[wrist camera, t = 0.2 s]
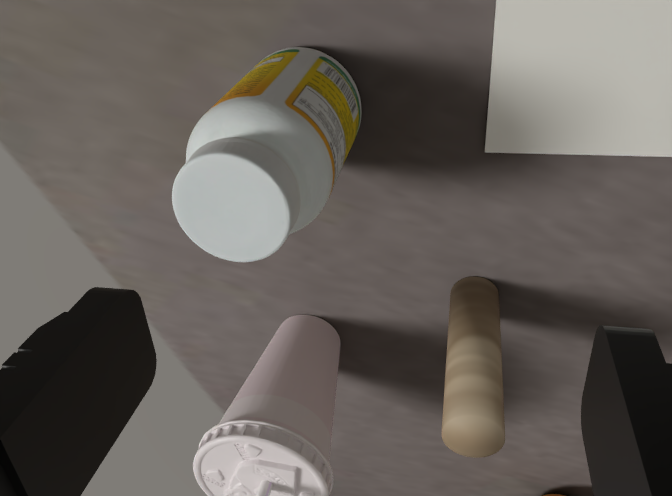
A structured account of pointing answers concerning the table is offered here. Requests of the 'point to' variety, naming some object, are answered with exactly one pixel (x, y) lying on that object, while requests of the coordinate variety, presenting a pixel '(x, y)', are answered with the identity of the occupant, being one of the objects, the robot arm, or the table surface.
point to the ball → (553, 495)
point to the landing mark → (581, 78)
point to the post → (474, 371)
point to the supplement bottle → (267, 155)
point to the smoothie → (278, 420)
